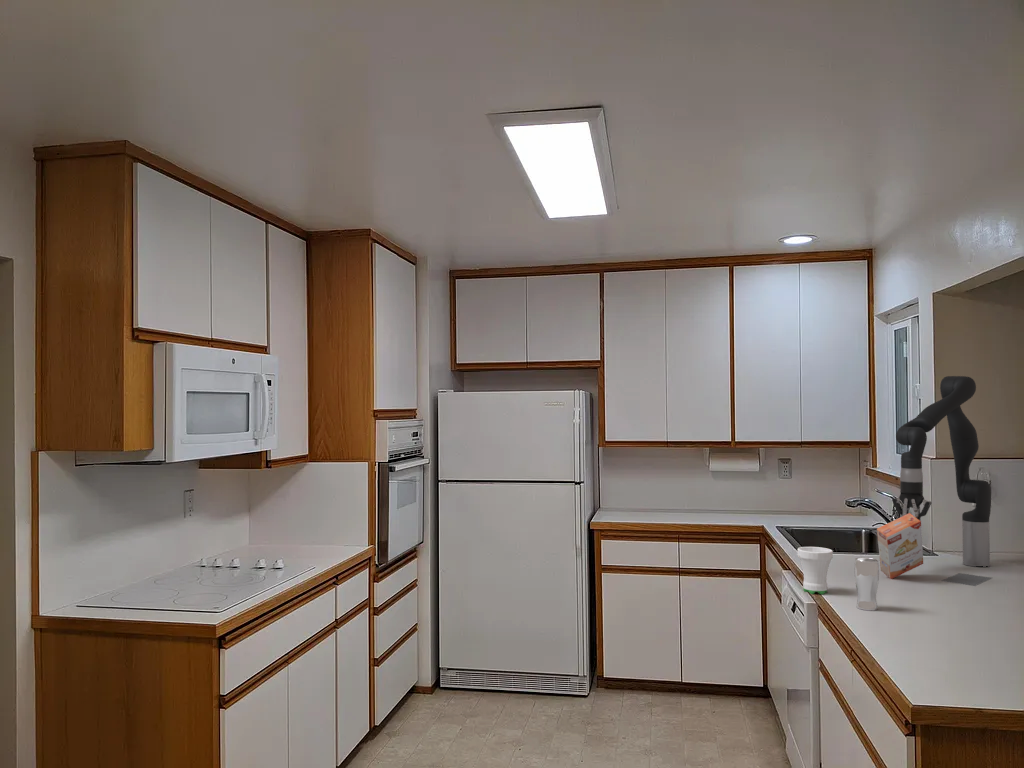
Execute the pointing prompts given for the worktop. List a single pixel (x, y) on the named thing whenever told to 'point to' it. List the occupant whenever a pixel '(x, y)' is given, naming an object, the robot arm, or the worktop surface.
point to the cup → (815, 568)
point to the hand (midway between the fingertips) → (911, 526)
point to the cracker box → (900, 545)
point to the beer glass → (866, 583)
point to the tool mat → (967, 579)
